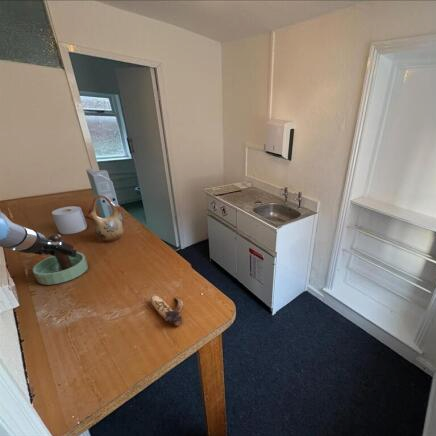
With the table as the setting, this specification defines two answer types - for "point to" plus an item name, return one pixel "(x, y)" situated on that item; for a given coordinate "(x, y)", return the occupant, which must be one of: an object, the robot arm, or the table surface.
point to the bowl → (50, 275)
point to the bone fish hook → (168, 310)
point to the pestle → (61, 254)
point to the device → (103, 191)
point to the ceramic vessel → (106, 222)
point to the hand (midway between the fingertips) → (68, 254)
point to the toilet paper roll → (69, 220)
